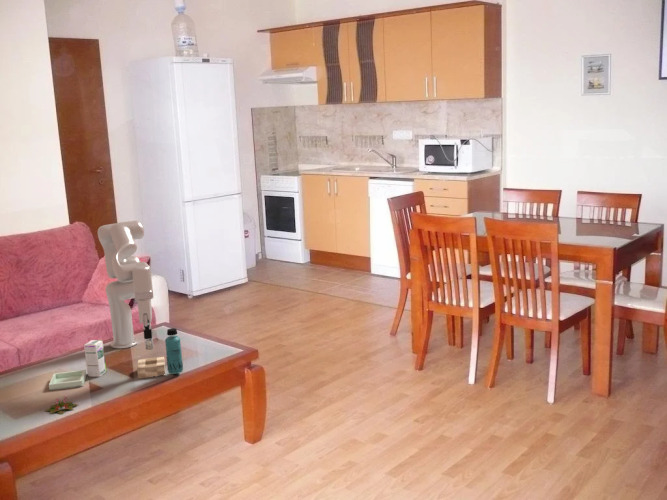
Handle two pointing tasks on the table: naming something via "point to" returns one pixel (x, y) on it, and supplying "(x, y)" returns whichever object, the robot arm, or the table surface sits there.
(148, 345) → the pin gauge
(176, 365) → the beverage bottle
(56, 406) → the lily flower
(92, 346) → the syrup box
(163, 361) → the bore block
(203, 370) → the table surface
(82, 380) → the tray
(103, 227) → the robot arm
